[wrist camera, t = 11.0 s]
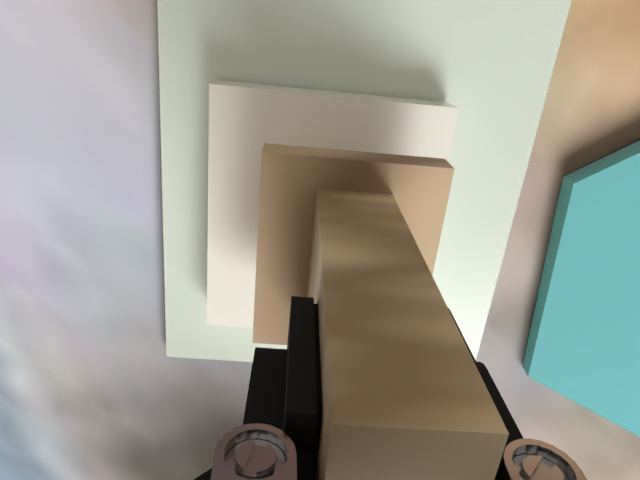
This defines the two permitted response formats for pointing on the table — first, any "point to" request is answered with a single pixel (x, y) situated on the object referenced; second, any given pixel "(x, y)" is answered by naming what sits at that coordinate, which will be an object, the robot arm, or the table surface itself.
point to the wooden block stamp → (373, 313)
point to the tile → (296, 130)
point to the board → (360, 78)
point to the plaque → (593, 292)
